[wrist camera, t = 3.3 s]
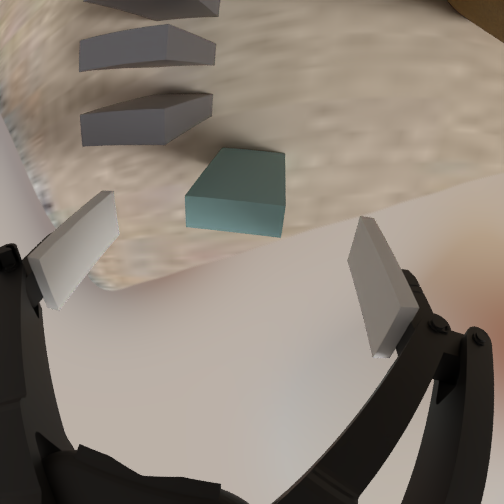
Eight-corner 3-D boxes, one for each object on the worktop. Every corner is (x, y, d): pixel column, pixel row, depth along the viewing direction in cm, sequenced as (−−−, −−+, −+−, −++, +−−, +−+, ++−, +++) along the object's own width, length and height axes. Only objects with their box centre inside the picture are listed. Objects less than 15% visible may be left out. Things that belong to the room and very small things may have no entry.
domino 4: (222, 147, 23) (185, 195, 14) (285, 153, 22) (285, 206, 14) (221, 168, 24) (186, 226, 15) (282, 174, 23) (280, 237, 15)
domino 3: (153, 94, 20) (80, 114, 12) (212, 94, 20) (164, 108, 12) (153, 115, 21) (82, 146, 13) (211, 115, 21) (164, 145, 13)
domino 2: (155, 47, 18) (79, 40, 10) (216, 44, 18) (168, 24, 10) (154, 67, 19) (79, 71, 11) (214, 65, 19) (166, 59, 11)
